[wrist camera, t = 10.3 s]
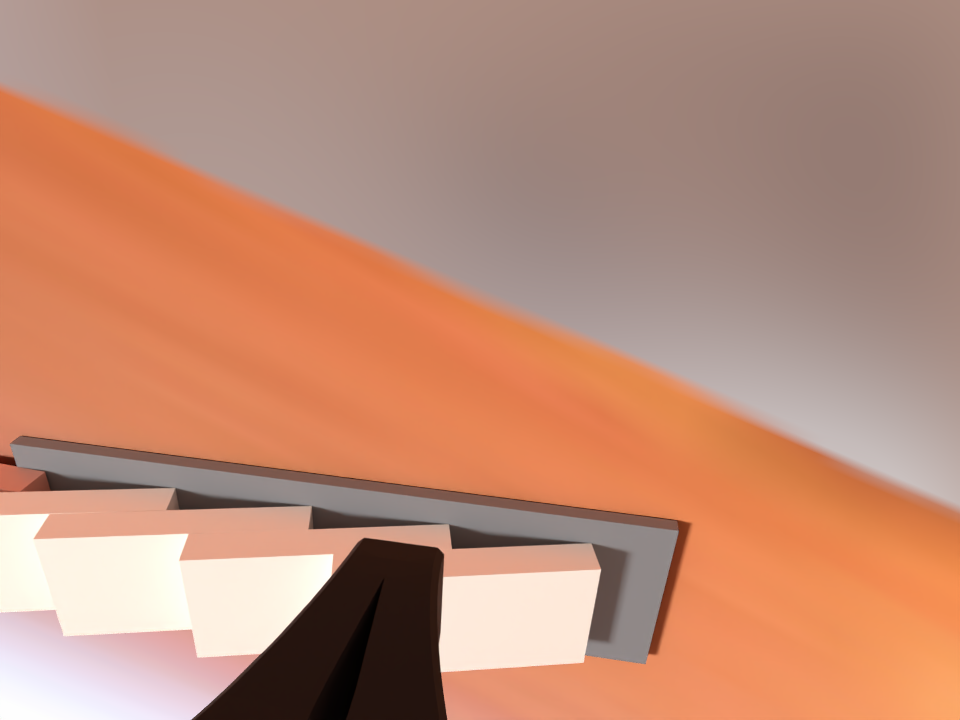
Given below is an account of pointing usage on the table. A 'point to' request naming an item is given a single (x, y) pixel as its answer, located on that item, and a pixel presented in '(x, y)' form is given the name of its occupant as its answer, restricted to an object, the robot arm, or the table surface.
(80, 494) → the tile
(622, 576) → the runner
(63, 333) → the table surface
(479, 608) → the tile
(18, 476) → the tile
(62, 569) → the tile
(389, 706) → the robot arm
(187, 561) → the tile
